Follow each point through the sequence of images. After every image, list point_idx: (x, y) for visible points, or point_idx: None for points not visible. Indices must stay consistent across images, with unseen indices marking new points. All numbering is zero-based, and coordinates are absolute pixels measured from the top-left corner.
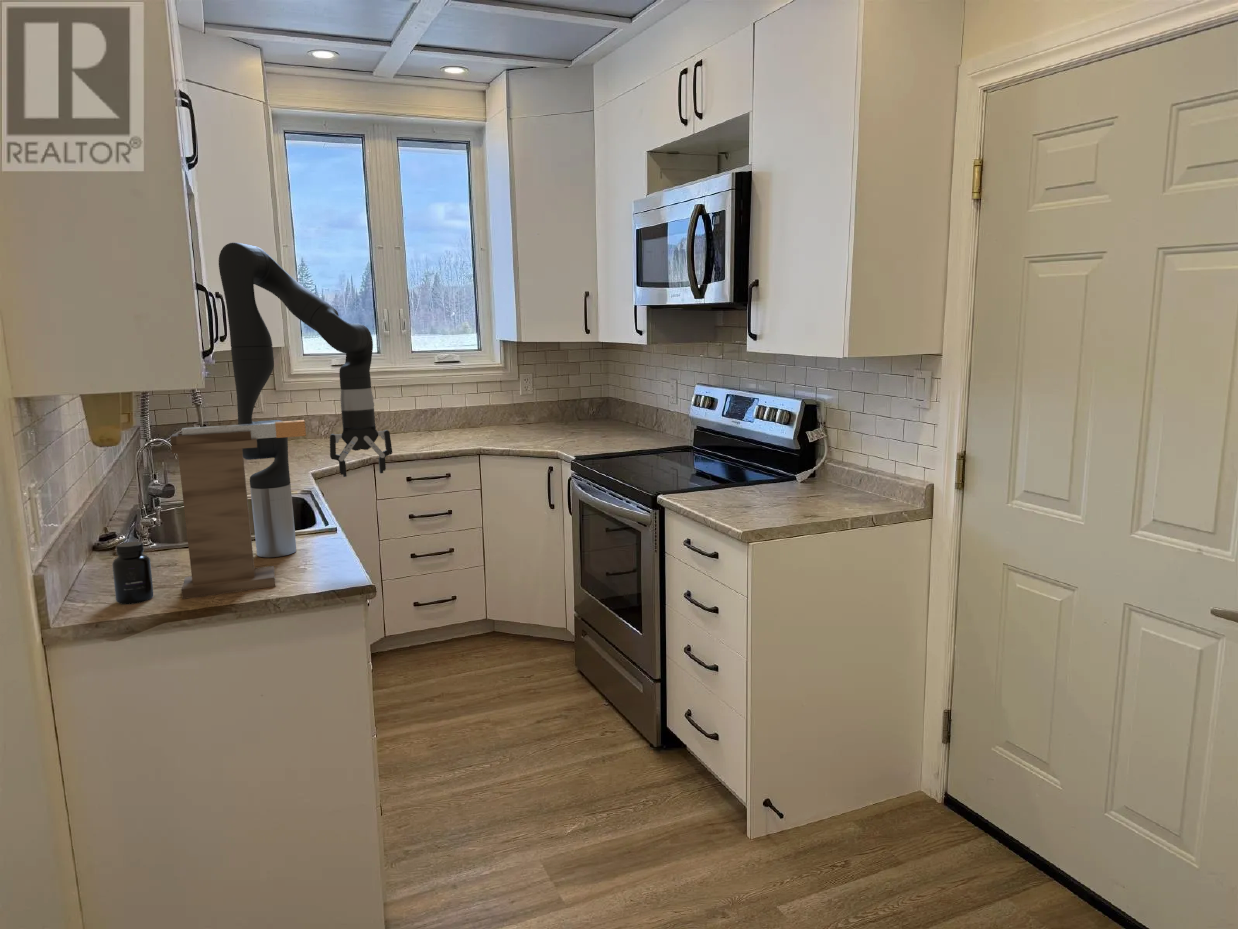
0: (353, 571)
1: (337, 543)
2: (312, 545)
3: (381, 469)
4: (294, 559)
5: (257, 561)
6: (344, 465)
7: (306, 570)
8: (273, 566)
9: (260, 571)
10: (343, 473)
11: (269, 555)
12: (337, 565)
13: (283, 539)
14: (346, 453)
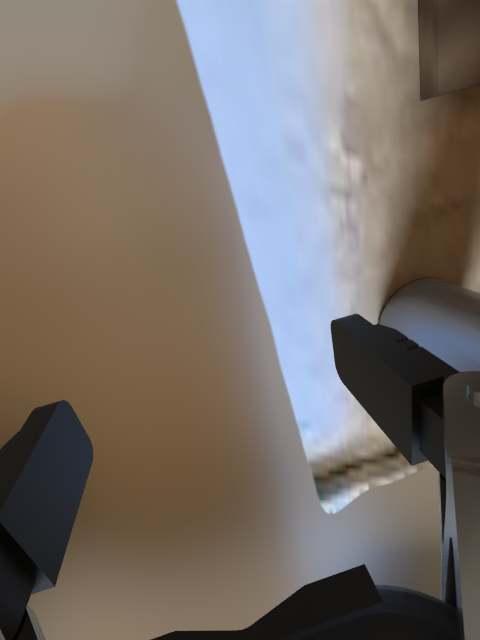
0: (202, 61)
1: (291, 383)
2: None
3: (37, 419)
4: (378, 253)
5: (456, 253)
6: (395, 358)
7: (341, 122)
8: (439, 85)
9: (473, 26)
10: (365, 322)
11: (436, 279)
12: (263, 157)
13: (429, 301)
14: (478, 466)
